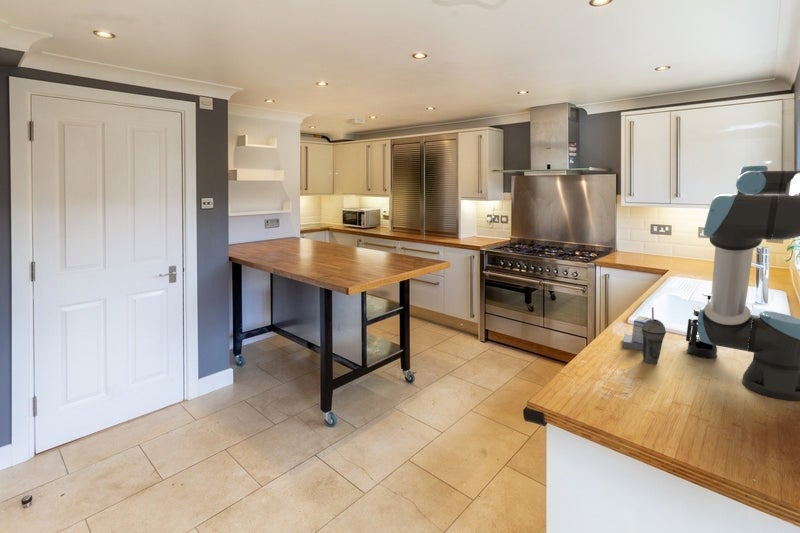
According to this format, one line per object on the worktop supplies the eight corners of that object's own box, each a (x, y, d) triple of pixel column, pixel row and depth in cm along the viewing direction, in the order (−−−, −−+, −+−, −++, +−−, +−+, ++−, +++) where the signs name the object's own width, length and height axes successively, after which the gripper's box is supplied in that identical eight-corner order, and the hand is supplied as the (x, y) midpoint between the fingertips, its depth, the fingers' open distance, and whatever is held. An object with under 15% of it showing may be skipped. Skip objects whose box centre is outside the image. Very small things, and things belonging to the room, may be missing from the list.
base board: (655, 354, 161) (656, 346, 161) (622, 348, 167) (623, 341, 166) (655, 345, 170) (655, 338, 169) (623, 340, 175) (624, 333, 175)
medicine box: (636, 336, 172) (638, 315, 170) (649, 339, 169) (651, 317, 167) (631, 341, 166) (633, 320, 164) (644, 344, 163) (646, 322, 162)
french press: (725, 358, 156) (734, 296, 152) (704, 360, 154) (713, 298, 150) (696, 346, 167) (704, 289, 163) (676, 348, 165) (683, 290, 161)
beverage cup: (665, 366, 149) (672, 311, 145) (642, 364, 151) (648, 310, 147) (657, 358, 156) (663, 305, 152) (635, 356, 158) (641, 304, 154)
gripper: (729, 208, 164) (721, 262, 169) (740, 212, 143) (731, 274, 147) (754, 208, 161) (746, 264, 165) (769, 212, 140) (759, 276, 144)
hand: (739, 269), depth 156 cm, fingers open, 13 cm apart
